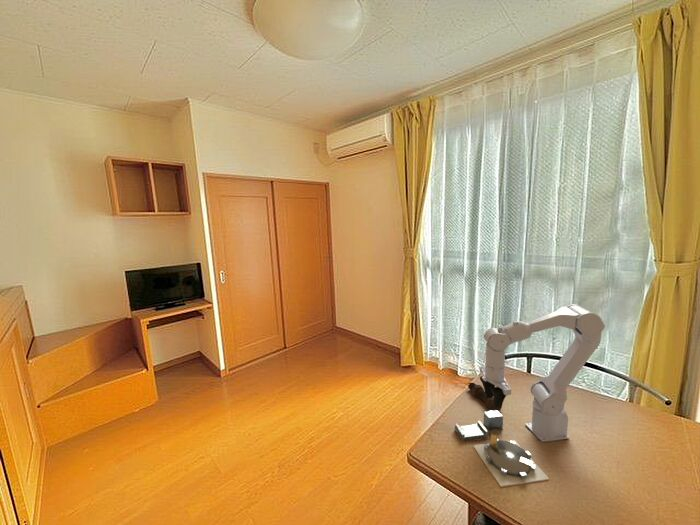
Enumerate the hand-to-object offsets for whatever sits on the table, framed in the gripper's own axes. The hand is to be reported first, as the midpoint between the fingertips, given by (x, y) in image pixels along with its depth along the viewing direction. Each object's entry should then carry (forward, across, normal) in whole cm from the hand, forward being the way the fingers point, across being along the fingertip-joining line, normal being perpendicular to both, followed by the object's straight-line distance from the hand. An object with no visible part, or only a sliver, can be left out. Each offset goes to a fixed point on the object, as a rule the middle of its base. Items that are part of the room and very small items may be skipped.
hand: (493, 401), depth 97 cm
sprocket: (+9, +14, -4) cm, 17 cm away
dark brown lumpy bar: (+10, -14, +5) cm, 18 cm away
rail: (+9, +2, -9) cm, 13 cm away
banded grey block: (+10, 0, 0) cm, 10 cm away
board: (+9, +14, -4) cm, 17 cm away
